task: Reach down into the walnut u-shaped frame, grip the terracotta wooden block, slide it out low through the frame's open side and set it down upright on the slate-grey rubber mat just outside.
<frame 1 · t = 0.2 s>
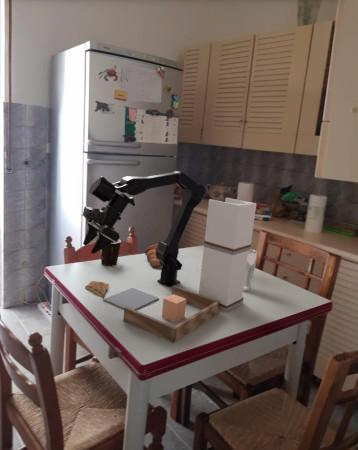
hand: (87, 248, 125), 15 cm above the table, tool tilted 30°, fingers open, 9 cm apart
walnut u-shaped frame: (170, 315, 116), on the table
banded white pillar: (220, 302, 129), on the table
slate mat: (131, 299, 124), on the table
terracotta block: (173, 317, 115), on the table
beer glass: (242, 288, 144), on the table
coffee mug: (107, 265, 156), on the table
shard: (101, 291, 131), on the table
pastry: (159, 262, 167), on the table
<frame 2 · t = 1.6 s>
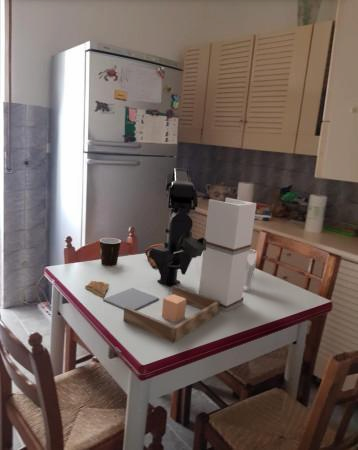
hand: (174, 277, 112), 13 cm above the table, tool pointing down, fingers open, 9 cm apart
nothing on the table moved.
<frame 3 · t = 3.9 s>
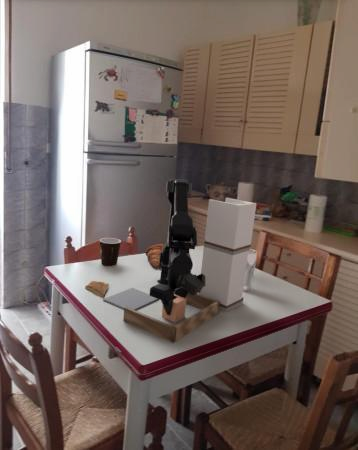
hand: (173, 312, 115), 2 cm above the table, tool pointing down, fingers closed on terracotta block, 5 cm apart
terracotta block: (173, 316, 115), on the table, touching gripper
everything else where it was.
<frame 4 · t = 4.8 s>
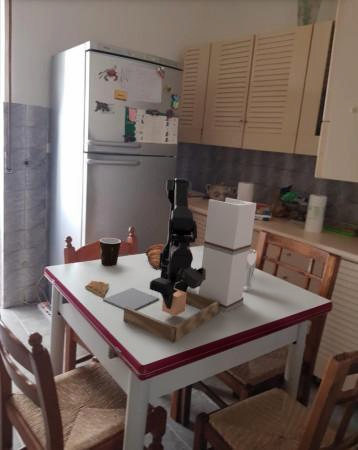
hand: (173, 306, 114), 3 cm above the table, tool pointing down, fingers closed on terracotta block, 5 cm apart
terracotta block: (173, 310, 115), point 2 cm above the table, touching gripper
everything else where it was.
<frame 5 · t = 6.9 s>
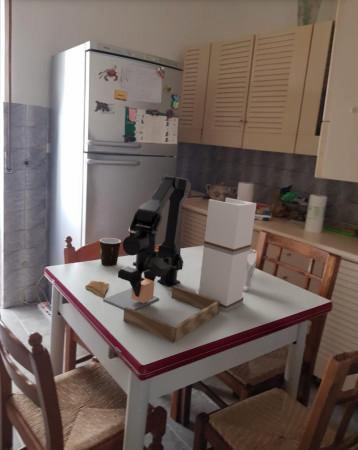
hand: (142, 294, 121), 3 cm above the table, tool pointing down, fingers closed on terracotta block, 5 cm apart
terracotta block: (142, 298, 122), point 2 cm above the table, touching gripper
when the fingers open (3 cm above the table, at t = 9.1 s): terracotta block stays where it is, resting on slate mat.
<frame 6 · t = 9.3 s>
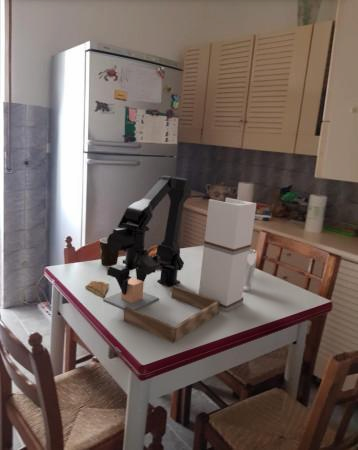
hand: (132, 291, 124), 3 cm above the table, tool pointing down, fingers open, 7 cm apart
terracotta block: (131, 298, 124), resting on slate mat
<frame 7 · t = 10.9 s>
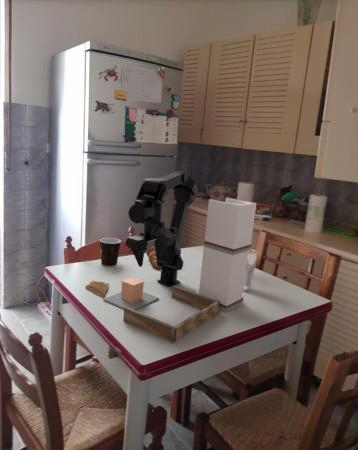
hand: (149, 263, 126), 12 cm above the table, tool pointing down, fingers open, 9 cm apart
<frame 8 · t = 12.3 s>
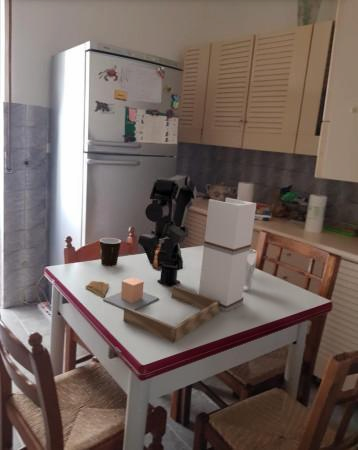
hand: (160, 261, 128), 12 cm above the table, tool pointing down, fingers open, 9 cm apart
at the end: terracotta block inside the target area on the slate mat (0.0 cm from its centre), point 0.5 cm above the slate mat's base; terracotta block tilted 0°; the gripper is holding nothing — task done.
